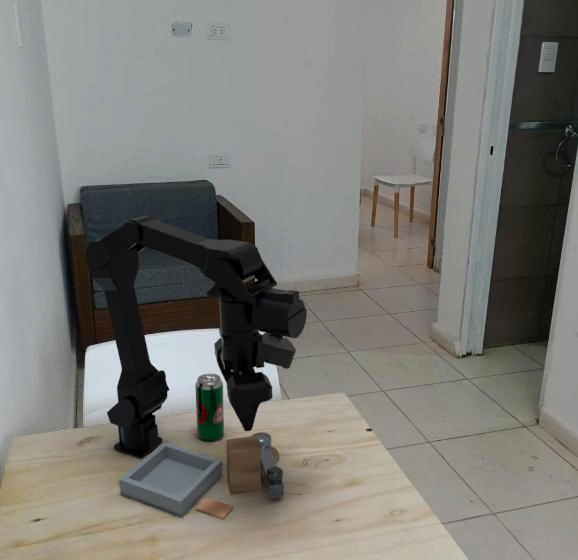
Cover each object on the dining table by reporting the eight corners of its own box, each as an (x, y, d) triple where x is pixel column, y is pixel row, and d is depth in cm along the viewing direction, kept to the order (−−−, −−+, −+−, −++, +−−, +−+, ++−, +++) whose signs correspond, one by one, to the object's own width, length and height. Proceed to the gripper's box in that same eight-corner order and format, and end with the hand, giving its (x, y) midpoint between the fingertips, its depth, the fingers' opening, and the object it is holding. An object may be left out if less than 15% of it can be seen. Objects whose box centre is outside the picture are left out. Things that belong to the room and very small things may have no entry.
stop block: (227, 480, 105) (226, 439, 102) (255, 476, 106) (255, 435, 104) (230, 495, 101) (229, 453, 99) (260, 490, 102) (260, 449, 100)
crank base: (192, 508, 98) (192, 505, 98) (254, 443, 115) (254, 441, 115) (226, 521, 95) (226, 518, 95) (284, 452, 113) (284, 450, 112)
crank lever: (249, 449, 112) (249, 430, 111) (268, 447, 113) (268, 427, 112) (265, 500, 99) (265, 478, 98) (287, 497, 100) (287, 475, 99)
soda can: (219, 444, 115) (217, 386, 111) (193, 440, 116) (191, 383, 112) (227, 429, 120) (226, 373, 116) (202, 426, 121) (200, 371, 117)
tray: (120, 494, 101) (119, 479, 100) (165, 456, 111) (164, 441, 110) (181, 517, 96) (180, 501, 95) (222, 475, 106) (222, 460, 105)
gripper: (306, 343, 88) (306, 439, 93) (277, 300, 105) (279, 383, 110) (228, 352, 85) (233, 450, 90) (211, 307, 103) (216, 391, 107)
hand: (243, 415), depth 99 cm, fingers open, 9 cm apart
